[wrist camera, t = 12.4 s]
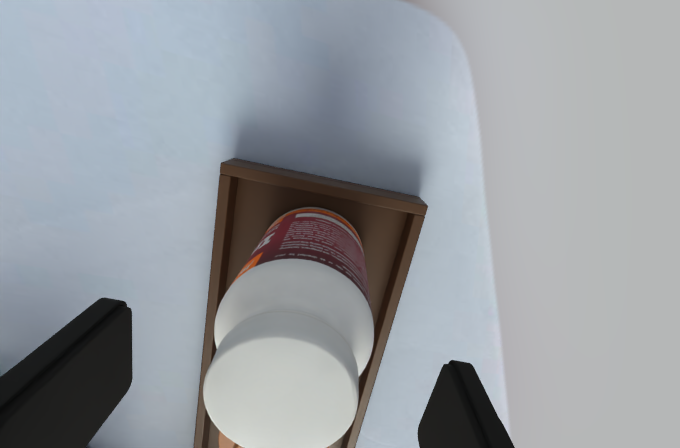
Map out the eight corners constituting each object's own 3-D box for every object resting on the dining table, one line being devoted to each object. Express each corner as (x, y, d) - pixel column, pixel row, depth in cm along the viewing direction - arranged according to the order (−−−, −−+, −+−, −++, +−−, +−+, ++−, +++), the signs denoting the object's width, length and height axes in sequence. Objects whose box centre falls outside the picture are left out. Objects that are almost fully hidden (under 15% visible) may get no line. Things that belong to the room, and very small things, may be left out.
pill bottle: (268, 195, 19) (177, 291, 9) (372, 213, 19) (407, 327, 9) (257, 289, 21) (173, 461, 10) (352, 304, 21) (363, 486, 11)
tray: (233, 157, 19) (220, 162, 17) (419, 196, 20) (428, 205, 18) (200, 465, 27) (188, 493, 25) (335, 485, 27) (334, 514, 25)
